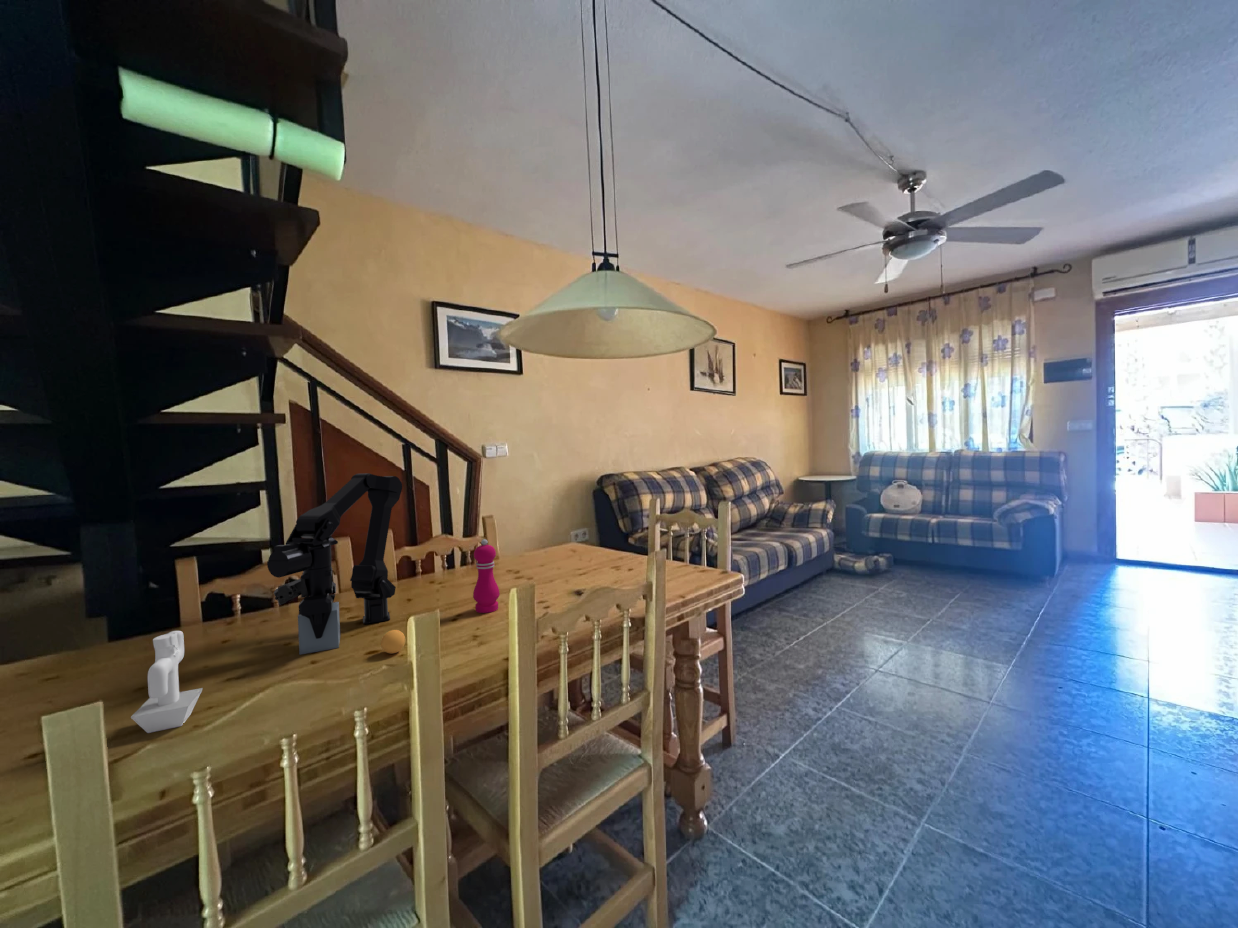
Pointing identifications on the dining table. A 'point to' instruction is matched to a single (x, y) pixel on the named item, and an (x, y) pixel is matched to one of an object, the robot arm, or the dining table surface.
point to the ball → (393, 641)
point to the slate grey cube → (329, 636)
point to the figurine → (166, 688)
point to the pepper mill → (485, 579)
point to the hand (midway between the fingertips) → (320, 632)
